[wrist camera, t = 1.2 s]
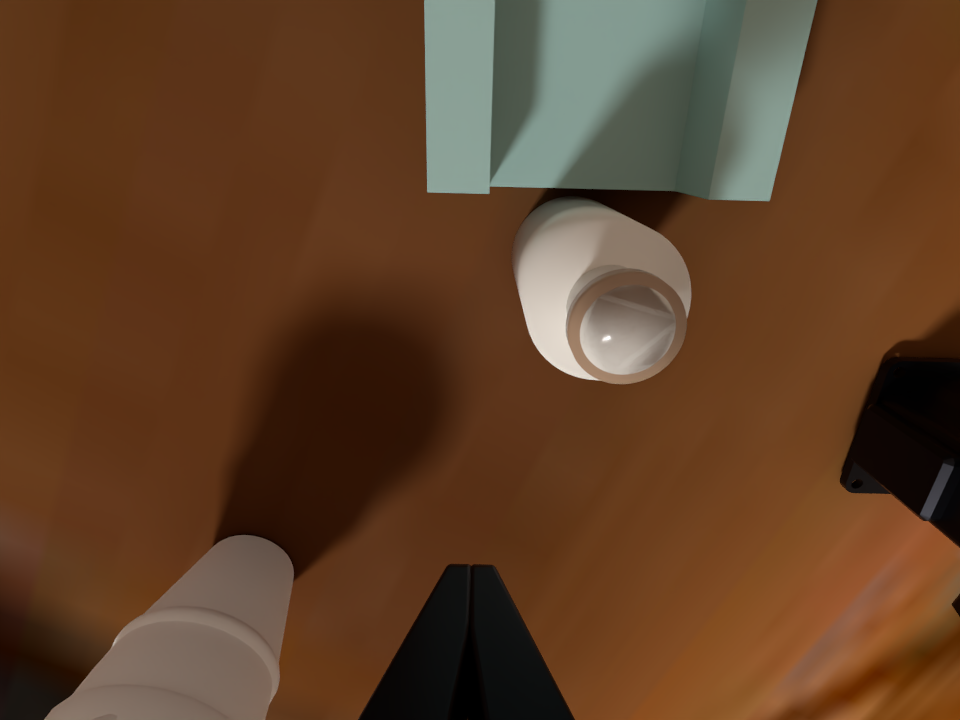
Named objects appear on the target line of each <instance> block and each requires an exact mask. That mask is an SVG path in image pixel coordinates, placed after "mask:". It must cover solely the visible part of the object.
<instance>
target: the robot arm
mask: <svg viewBox="0 0 960 720" xmlns="http://www.w3.org/2000/svg"><path fill="white" fill-rule="evenodd" d="M898 367H899V369H898V370H897V372H895V373H894V371H895V369H897V368H898ZM853 481H854V482H853ZM852 482H853V483H852ZM840 483H841V485H842V486H843V487H844V488H845V489H846V490H847V491H849V492H851V493H878V494H892V495H893V496H894V497H895V498H896V499H898V500H899V501H900V502H901V503H902V504H904V505H905V506H906V507H907V508H908V509H909V510H911V511H912V512H913V513H914V514H915V515H916V516H918V517H919V518H920V519H921V520H923V521H929V522H930V523H931V524H932V525H933V526H935V527H936V528H937V529H938V530H939V531H940V532H942V533H943V534H944V535H945V536H946V537H948V538H949V539H950V540H951V541H952V542H953V543H955V544H956V545H957V546H958V547H959V548H960V359H952V358H909V357H895V358H891V359H889V360H887V361H886V362H885V363H883V365H882V366H881V368H880V371H879V374H878V376H877V379H876V382H875V385H874V387H873V390H872V393H871V396H870V398H869V401H868V404H867V407H866V409H865V412H864V415H863V417H862V420H861V423H860V426H859V428H858V431H857V434H856V437H855V439H854V442H853V445H852V448H851V450H850V453H849V456H848V458H847V461H846V464H845V467H844V469H843V472H842V475H841V478H840ZM952 606H953V607H954V609H955V610H956V612H957V613H958V615H959V616H960V594H959V596H958V597H957V598H956V599H955V600H954V602H953V603H952ZM358 720H575V719H574V717H573V715H572V713H571V711H570V709H569V707H568V705H567V703H566V702H565V700H564V698H563V696H562V694H561V692H560V690H559V688H558V686H557V684H556V682H555V680H554V678H553V677H552V675H551V673H550V671H549V669H548V667H547V665H546V663H545V661H544V659H543V657H542V655H541V653H540V652H539V650H538V648H537V646H536V644H535V642H534V640H533V638H532V636H531V634H530V632H529V630H528V628H527V627H526V625H525V623H524V621H523V619H522V617H521V615H520V613H519V611H518V609H517V607H516V605H515V603H514V602H513V600H512V598H511V596H510V594H509V592H508V590H507V588H506V586H505V584H504V582H503V580H502V579H501V577H500V575H499V573H498V571H497V569H496V568H495V566H493V565H481V564H474V565H472V566H470V565H469V564H449V565H448V566H447V567H446V568H445V570H444V572H443V573H442V575H441V577H440V579H439V580H438V582H437V584H436V586H435V587H434V589H433V591H432V592H431V594H430V596H429V598H428V599H427V601H426V603H425V605H424V606H423V608H422V610H421V611H420V613H419V615H418V617H417V618H416V620H415V622H414V624H413V625H412V627H411V629H410V630H409V632H408V634H407V636H406V637H405V639H404V641H403V643H402V644H401V646H400V648H399V649H398V651H397V653H396V655H395V656H394V658H393V660H392V662H391V663H390V665H389V667H388V668H387V670H386V672H385V674H384V675H383V677H382V679H381V681H380V682H379V684H378V686H377V687H376V689H375V691H374V693H373V694H372V696H371V698H370V700H369V701H368V703H367V705H366V706H365V708H364V710H363V712H362V713H361V715H360V717H359V719H358Z"/></svg>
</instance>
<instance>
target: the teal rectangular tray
mask: <svg viewBox="0 0 960 720" xmlns="http://www.w3.org/2000/svg"><path fill="white" fill-rule="evenodd" d="M816 4H817V0H424V10H425V74H426V138H427V192H435V193H475V194H489V186H497V187H536V188H575V189H614V190H653V191H676V192H680V193H684V194H688V195H692V196H696V197H700V198H704V199H710V200H749V201H770V197H771V193H772V189H773V185H774V180H775V176H776V172H777V168H778V164H779V159H780V155H781V151H782V147H783V143H784V138H785V134H786V130H787V126H788V122H789V117H790V113H791V109H792V105H793V101H794V96H795V92H796V88H797V84H798V80H799V75H800V71H801V67H802V63H803V59H804V54H805V50H806V46H807V42H808V38H809V33H810V29H811V25H812V21H813V17H814V12H815V8H816Z"/></svg>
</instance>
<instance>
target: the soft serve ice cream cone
mask: <svg viewBox="0 0 960 720" xmlns="http://www.w3.org/2000/svg"><path fill="white" fill-rule="evenodd" d="M293 578H294V569H293V565H292V562H291V560H290V558H289V557H288V555H287V554H286V553H285V552H284V550H283V549H281V548H280V547H279V546H278V545H276V544H274V543H273V542H271V541H269V540H267V539H264V538H261V537H257V536H252V535H236V536H232V537H228V538H226V539H224V540H222V541H220V542H218V543H217V544H216V545H214V546H213V547H212V548H211V549H210V550H209V551H208V552H207V553H206V554H205V555H204V556H203V557H202V558H201V559H200V560H199V561H198V562H197V563H196V564H195V565H194V566H193V567H192V568H191V569H190V570H189V571H188V572H187V573H186V574H184V575H183V576H182V577H181V578H180V579H179V580H178V581H177V582H176V583H175V584H174V585H173V586H172V587H171V588H170V589H169V590H168V591H167V592H166V593H165V594H164V595H163V596H162V597H161V598H160V599H159V600H158V601H157V602H156V603H155V604H153V605H152V606H151V607H150V608H149V609H148V610H147V611H146V612H145V613H144V614H143V615H141V616H139V617H137V618H136V619H134V620H133V621H132V622H130V623H129V624H128V625H126V626H125V627H124V628H123V629H122V631H121V632H120V633H119V634H118V636H117V637H116V639H115V641H114V643H113V646H112V648H111V649H110V650H109V652H108V653H107V654H106V655H105V656H104V657H103V658H102V659H101V661H100V662H99V663H98V664H97V665H96V666H95V667H94V668H93V670H92V671H91V672H90V673H89V675H88V676H87V677H86V678H85V680H84V681H83V682H82V683H81V685H80V686H79V687H78V688H77V690H76V691H75V692H74V693H73V695H72V696H70V697H69V698H67V699H66V700H64V701H63V702H61V703H60V704H59V705H57V706H56V707H54V708H53V709H52V710H51V712H50V713H49V714H48V715H47V717H46V718H45V719H44V720H265V718H266V714H267V710H268V706H269V703H270V702H271V700H272V698H273V697H274V695H275V693H276V691H277V688H278V684H279V680H280V672H279V664H278V663H279V658H280V652H281V646H282V641H283V635H284V629H285V624H286V618H287V612H288V607H289V601H290V595H291V590H292V584H293Z"/></svg>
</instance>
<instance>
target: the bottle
mask: <svg viewBox="0 0 960 720" xmlns="http://www.w3.org/2000/svg"><path fill="white" fill-rule="evenodd" d="M512 267H513V272H514V276H515V280H516V284H517V288H518V292H519V296H520V300H521V303H522V307H523V311H524V315H525V319H526V323H527V327H528V330H529V334H530V336H531V338H532V340H533V342H534V344H535V346H536V347H537V349H538V350H539V352H540V353H541V354H542V355H543V356H544V357H545V359H547V360H548V361H549V362H550V363H551V364H552V365H554V366H555V367H557V368H558V369H560V370H561V371H563V372H565V373H568V374H570V375H573V376H576V377H579V378H584V379H589V380H601V381H604V382H608V383H613V384H629V383H635V382H639V381H642V380H645V379H647V378H650V377H652V376H653V375H655V374H657V373H658V372H660V371H661V370H663V369H664V368H665V367H666V366H667V365H668V364H669V363H670V362H671V361H672V360H673V359H674V357H675V356H676V355H677V353H678V352H679V350H680V348H681V346H682V344H683V341H684V338H685V334H686V328H687V316H688V313H689V309H690V302H691V283H690V277H689V273H688V270H687V267H686V265H685V263H684V261H683V258H682V257H681V255H680V254H679V252H678V251H677V249H676V248H675V247H674V246H673V245H672V244H671V243H670V242H669V241H668V240H667V239H666V238H665V237H663V236H662V235H661V234H659V233H658V232H656V231H654V230H652V229H651V228H649V227H647V226H645V225H643V224H641V223H639V222H637V221H635V220H633V219H631V218H629V217H627V216H625V215H623V214H621V213H619V212H617V211H615V210H613V209H611V208H609V207H607V206H605V205H603V204H601V203H599V202H597V201H595V200H592V199H590V198H586V197H581V196H565V197H559V198H556V199H553V200H550V201H548V202H546V203H544V204H542V205H541V206H539V207H538V208H536V209H535V210H534V211H533V212H531V213H530V214H529V216H528V217H527V218H526V219H525V220H524V221H523V223H522V224H521V226H520V228H519V229H518V231H517V234H516V236H515V239H514V242H513V246H512Z"/></svg>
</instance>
